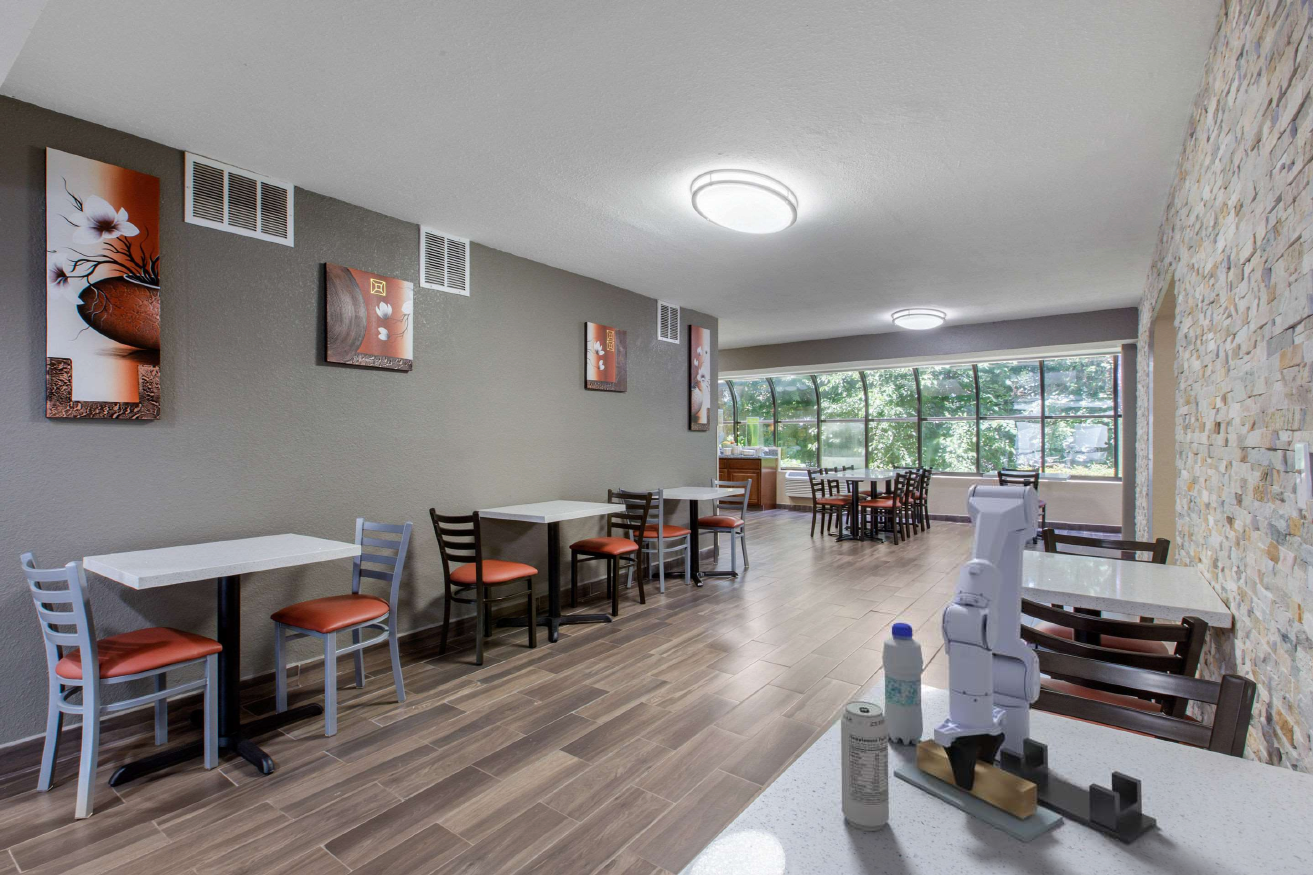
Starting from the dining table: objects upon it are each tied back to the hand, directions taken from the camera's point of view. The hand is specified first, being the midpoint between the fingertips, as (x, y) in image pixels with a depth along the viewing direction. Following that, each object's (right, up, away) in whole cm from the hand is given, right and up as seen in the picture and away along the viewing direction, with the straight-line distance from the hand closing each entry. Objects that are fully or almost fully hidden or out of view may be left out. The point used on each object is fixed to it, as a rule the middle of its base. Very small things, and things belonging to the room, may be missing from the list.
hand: (972, 783), depth 91 cm
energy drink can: (-18, -2, -6) cm, 19 cm away
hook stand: (+13, -2, -2) cm, 13 cm away
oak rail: (0, -1, 0) cm, 1 cm away
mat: (0, -2, 0) cm, 2 cm away
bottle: (-3, -3, +18) cm, 18 cm away
